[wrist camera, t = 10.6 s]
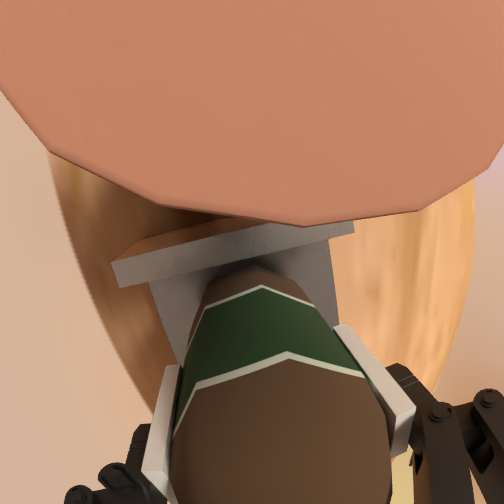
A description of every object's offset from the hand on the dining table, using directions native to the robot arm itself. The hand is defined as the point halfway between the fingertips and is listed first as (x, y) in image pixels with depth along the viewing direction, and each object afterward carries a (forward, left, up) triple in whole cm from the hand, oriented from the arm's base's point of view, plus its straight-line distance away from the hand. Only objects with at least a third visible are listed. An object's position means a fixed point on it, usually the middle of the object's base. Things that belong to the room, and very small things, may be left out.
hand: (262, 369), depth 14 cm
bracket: (0, 0, -9) cm, 9 cm away
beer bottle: (0, 0, -6) cm, 6 cm away
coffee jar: (-13, +2, -9) cm, 17 cm away
